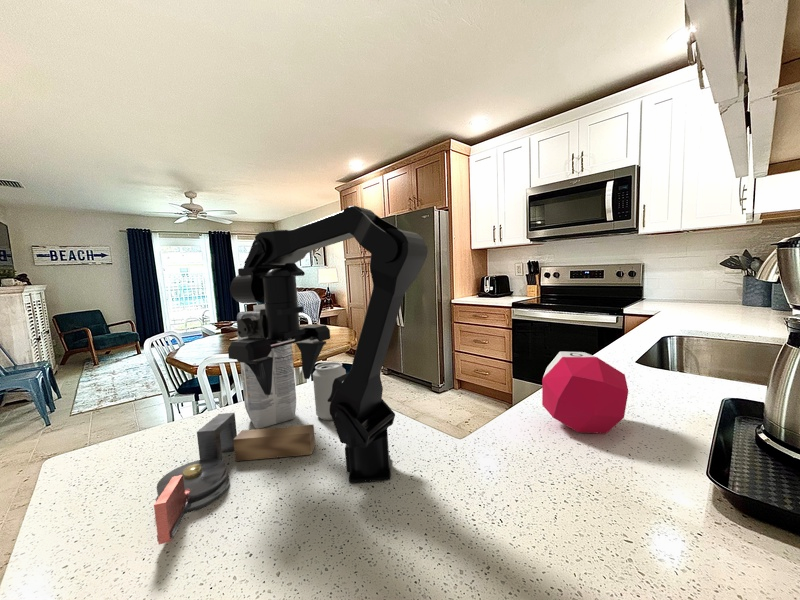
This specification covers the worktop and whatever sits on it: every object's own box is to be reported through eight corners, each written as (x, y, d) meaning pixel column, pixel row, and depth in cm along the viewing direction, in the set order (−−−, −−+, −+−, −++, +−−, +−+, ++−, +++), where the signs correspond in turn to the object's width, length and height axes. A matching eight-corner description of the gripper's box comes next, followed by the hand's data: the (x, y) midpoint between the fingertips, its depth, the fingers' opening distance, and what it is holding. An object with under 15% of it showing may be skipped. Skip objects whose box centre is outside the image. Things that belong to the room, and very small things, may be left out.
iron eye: (238, 447, 64) (234, 412, 64) (218, 469, 57) (214, 430, 57) (222, 448, 64) (218, 413, 64) (201, 471, 57) (196, 431, 56)
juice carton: (300, 419, 76) (290, 302, 74) (251, 433, 70) (239, 307, 68) (289, 407, 83) (280, 301, 82) (244, 420, 78) (233, 306, 76)
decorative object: (565, 365, 55) (548, 330, 69) (535, 434, 61) (525, 389, 74) (660, 392, 53) (623, 350, 67) (621, 461, 58) (594, 409, 72)
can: (335, 406, 83) (331, 359, 82) (355, 412, 78) (351, 362, 77) (309, 417, 77) (305, 366, 76) (330, 424, 72) (325, 370, 71)
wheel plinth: (240, 472, 56) (239, 466, 56) (210, 512, 46) (209, 505, 46) (182, 477, 55) (181, 471, 55) (139, 518, 46) (138, 511, 46)
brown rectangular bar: (315, 444, 63) (313, 424, 63) (311, 454, 60) (309, 433, 59) (243, 450, 63) (241, 430, 62) (235, 461, 59) (233, 439, 59)
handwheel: (206, 532, 41) (202, 494, 41) (119, 554, 38) (114, 513, 38) (232, 465, 56) (229, 436, 56) (171, 477, 54) (168, 447, 53)
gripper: (290, 298, 72) (296, 368, 73) (204, 308, 56) (213, 398, 57) (329, 297, 66) (334, 373, 68) (245, 308, 50) (255, 407, 51)
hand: (288, 386), depth 61 cm, fingers open, 9 cm apart
